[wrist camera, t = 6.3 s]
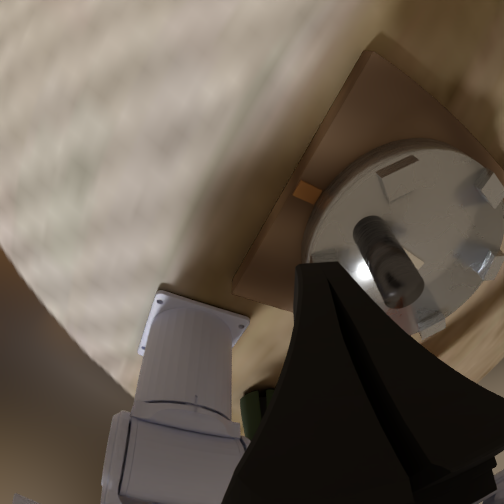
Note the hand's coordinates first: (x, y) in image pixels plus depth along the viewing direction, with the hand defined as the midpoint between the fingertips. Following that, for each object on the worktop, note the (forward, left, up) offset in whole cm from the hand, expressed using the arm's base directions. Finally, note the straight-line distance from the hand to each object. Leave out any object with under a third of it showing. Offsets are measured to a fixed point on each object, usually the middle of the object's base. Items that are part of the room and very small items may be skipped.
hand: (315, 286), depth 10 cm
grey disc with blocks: (0, -10, -9) cm, 13 cm away
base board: (0, -10, -10) cm, 14 cm away
